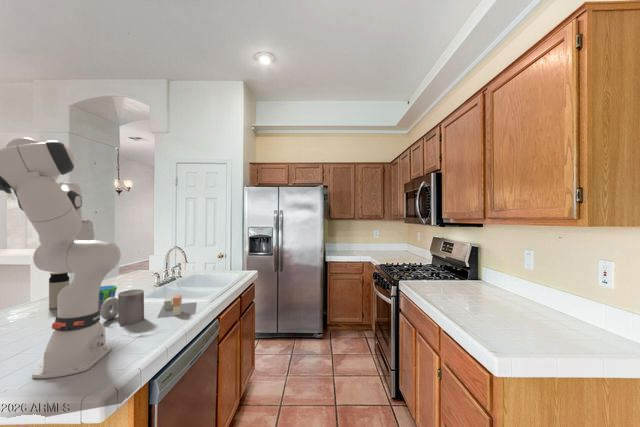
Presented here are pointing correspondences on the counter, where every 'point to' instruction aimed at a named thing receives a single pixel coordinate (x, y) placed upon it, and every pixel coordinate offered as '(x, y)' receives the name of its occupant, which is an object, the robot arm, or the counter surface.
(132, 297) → the pillar candle
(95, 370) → the counter surface
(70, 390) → the counter surface
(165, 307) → the sage brick
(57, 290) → the travel mug
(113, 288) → the snack cup
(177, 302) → the terracotta brick
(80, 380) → the counter surface
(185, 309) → the baseplate
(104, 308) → the donut
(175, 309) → the cream brick
